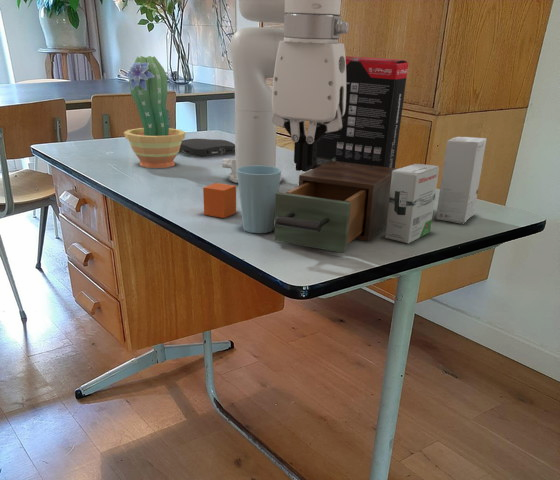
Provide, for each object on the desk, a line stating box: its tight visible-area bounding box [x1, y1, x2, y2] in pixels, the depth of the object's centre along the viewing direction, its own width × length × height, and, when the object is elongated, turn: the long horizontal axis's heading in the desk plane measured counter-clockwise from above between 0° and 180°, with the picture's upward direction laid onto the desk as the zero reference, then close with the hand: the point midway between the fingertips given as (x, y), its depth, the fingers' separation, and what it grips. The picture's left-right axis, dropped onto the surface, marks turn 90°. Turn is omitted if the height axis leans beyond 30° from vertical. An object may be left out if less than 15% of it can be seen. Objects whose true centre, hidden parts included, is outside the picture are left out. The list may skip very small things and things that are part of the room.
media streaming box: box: [178, 138, 235, 158], centre depth 170 cm, size 15×15×3 cm
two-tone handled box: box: [274, 181, 369, 254], centre depth 98 cm, size 20×12×8 cm, turn 154°
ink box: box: [384, 163, 440, 244], centre depth 103 cm, size 9×5×12 cm, turn 141°
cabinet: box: [298, 161, 398, 242], centre depth 109 cm, size 16×14×10 cm
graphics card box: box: [313, 55, 409, 169], centre depth 121 cm, size 17×7×27 cm, turn 59°
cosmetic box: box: [435, 136, 488, 225], centre depth 114 cm, size 8×6×15 cm
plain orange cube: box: [202, 182, 237, 219], centre depth 114 cm, size 5×5×5 cm
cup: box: [237, 165, 282, 234], centre depth 104 cm, size 8×8×10 cm
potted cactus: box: [123, 55, 186, 169], centre depth 148 cm, size 15×15×25 cm
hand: (304, 169), depth 90 cm, fingers closed
